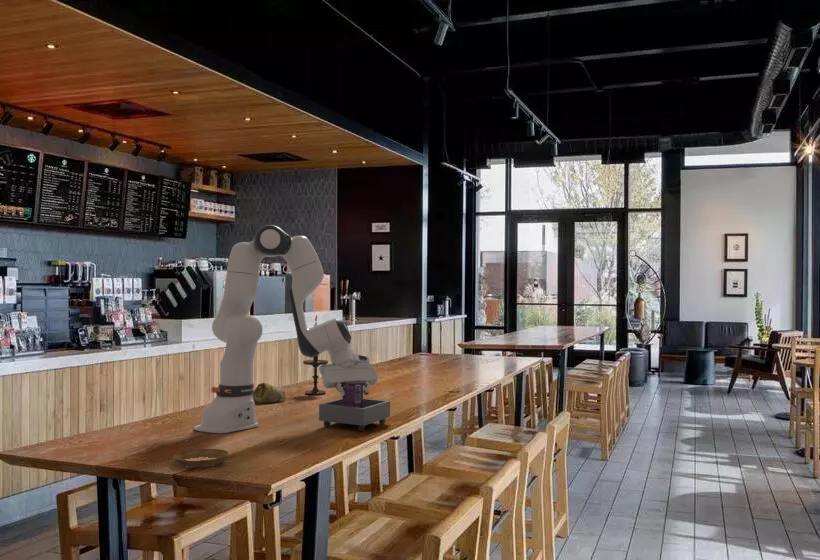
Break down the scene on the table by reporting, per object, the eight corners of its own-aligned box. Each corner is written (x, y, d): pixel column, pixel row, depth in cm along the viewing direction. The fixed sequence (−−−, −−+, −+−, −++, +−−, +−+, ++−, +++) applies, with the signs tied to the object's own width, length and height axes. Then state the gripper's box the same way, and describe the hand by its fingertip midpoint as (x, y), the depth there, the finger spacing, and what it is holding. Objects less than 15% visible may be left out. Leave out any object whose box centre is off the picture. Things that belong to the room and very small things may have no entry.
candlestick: (330, 394, 326) (331, 315, 326) (306, 396, 322) (306, 315, 322) (324, 391, 336) (324, 313, 336) (300, 392, 332) (301, 314, 332)
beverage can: (364, 414, 263) (364, 380, 263) (361, 418, 256) (361, 383, 256) (344, 413, 264) (344, 379, 264) (340, 417, 257) (341, 382, 257)
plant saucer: (164, 469, 200) (164, 459, 200) (186, 456, 215) (186, 447, 215) (217, 471, 199) (217, 461, 199) (235, 458, 214) (235, 449, 214)
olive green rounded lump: (244, 402, 307) (245, 383, 307) (263, 398, 318) (263, 379, 318) (273, 405, 301) (273, 385, 301) (290, 400, 312) (290, 381, 312)
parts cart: (363, 432, 248) (364, 408, 248) (318, 427, 256) (319, 404, 256) (390, 423, 264) (390, 401, 264) (346, 418, 272) (347, 396, 272)
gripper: (320, 359, 261) (330, 391, 253) (372, 356, 271) (384, 387, 262) (315, 370, 265) (325, 402, 257) (367, 367, 275) (379, 398, 266)
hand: (356, 394), depth 260 cm, fingers open, 7 cm apart
